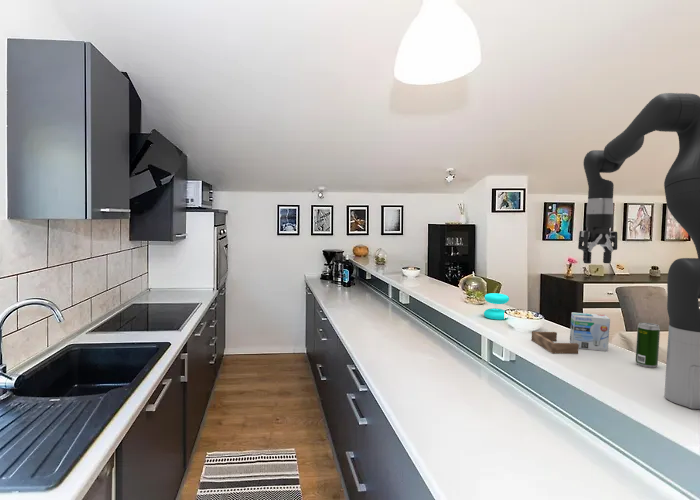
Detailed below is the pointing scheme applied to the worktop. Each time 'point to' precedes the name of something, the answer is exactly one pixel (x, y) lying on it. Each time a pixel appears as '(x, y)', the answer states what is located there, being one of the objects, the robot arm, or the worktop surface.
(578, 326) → the light bulb box
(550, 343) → the wooden u-shaped bracket
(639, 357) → the green metal cylinder
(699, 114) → the robot arm
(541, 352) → the worktop surface
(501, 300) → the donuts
